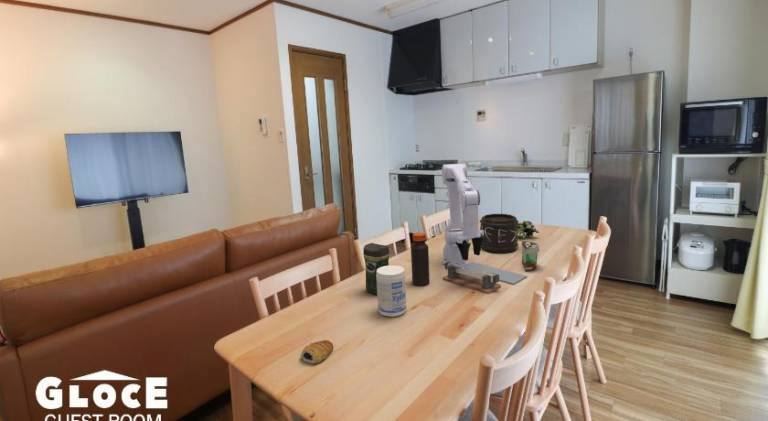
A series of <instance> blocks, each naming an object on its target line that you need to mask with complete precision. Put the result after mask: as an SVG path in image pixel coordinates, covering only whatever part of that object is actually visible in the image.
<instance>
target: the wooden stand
mask: <svg viewBox="0 0 768 421" xmlns="http://www.w3.org/2000/svg"><path fill="white" fill-rule="evenodd" d="M455 264H457V263H455ZM459 265H460V264H459ZM490 273H491V272H490ZM493 274H495V273H493ZM442 281H445V282H448V283H453V284H455V285H458V286H461V287H465V288H468V289H471V290H475V291H477V292H481V293H484V294H487V295H490V294H492V293H493V292H495V291H497V290H499V289H500V288H501V284H499V283H492V282H489V277H488V276H482V279H478V278H475V277H471V276H468V275H464V274H461V273H457V272H454V271H453V267H451V266H448V270H447V275H445V276H444V277H442Z"/></svg>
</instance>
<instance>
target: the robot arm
mask: <svg viewBox="0 0 768 421" xmlns="http://www.w3.org/2000/svg"><path fill="white" fill-rule="evenodd" d="M441 176H442V184H443V185H445V186H446V187H447V194H448V205H449V216H450V217H449V218H450V222H449V223H448V224H447V225H446V226H445V228H444V242H445V244H444V246H443V249H442V250H443V251H442V253H443V255H442V256H443V261H442V265H445V263H446V262H451V263H457V264H460V265H463V266H464V265H466V264H468V263H470V262H471V261H468V260H469V251H470V247H471V244H472V251H473V255H475V256H480V254H481V250H482V244H483V242H484V240H485V237H484V236H483V235H484V230H480V229H479V206H480V204H481V193H480V190H479V189H475V188H474V186H473V184H472V182H471V180H469V179H467V176H468V166H467V164H466V163H465V162H463V163H451V164H449V163H448V164H446V163H445V164H443V165H442V167H441ZM470 241H471V242H472V243H471V242H470Z"/></svg>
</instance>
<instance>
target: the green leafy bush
mask: <svg viewBox="0 0 768 421" xmlns="http://www.w3.org/2000/svg"><path fill="white" fill-rule="evenodd" d="M534 233H537V234H539V233H540V231H538V230H537V229H536V227H535V225H534V224H533V222H532V221H529V220H523V221H522V222H519V223H518V237H519V238H521V235H522V239H521V241H524V238H525V237H529V238H530V237H534Z"/></svg>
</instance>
